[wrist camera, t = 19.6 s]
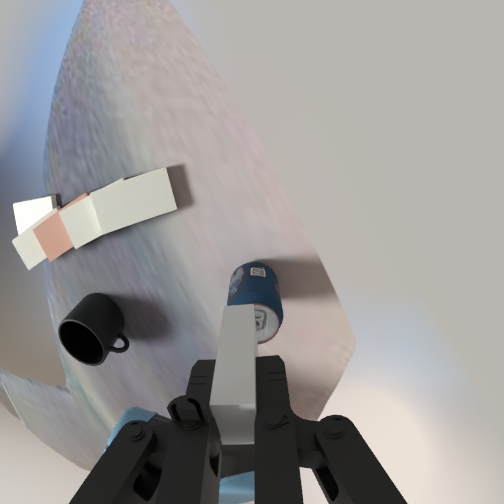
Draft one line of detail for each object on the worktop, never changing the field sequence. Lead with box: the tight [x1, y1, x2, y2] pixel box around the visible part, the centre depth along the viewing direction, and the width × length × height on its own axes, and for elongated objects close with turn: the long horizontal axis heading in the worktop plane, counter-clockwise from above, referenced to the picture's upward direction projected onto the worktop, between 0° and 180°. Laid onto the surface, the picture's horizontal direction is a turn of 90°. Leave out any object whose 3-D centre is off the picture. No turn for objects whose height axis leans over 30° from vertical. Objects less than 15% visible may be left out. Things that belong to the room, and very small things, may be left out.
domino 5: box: [90, 167, 177, 234], centre depth 36 cm, size 2×6×11 cm
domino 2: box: [12, 205, 61, 270], centre depth 37 cm, size 2×6×11 cm
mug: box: [58, 294, 129, 366], centre depth 41 cm, size 9×12×9 cm
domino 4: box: [59, 178, 125, 249], centre depth 36 cm, size 2×6×11 cm
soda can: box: [227, 262, 283, 344], centre depth 37 cm, size 7×7×12 cm
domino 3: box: [33, 192, 89, 262], centre depth 37 cm, size 2×6×11 cm
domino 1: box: [13, 195, 57, 235], centre depth 39 cm, size 2×6×11 cm
